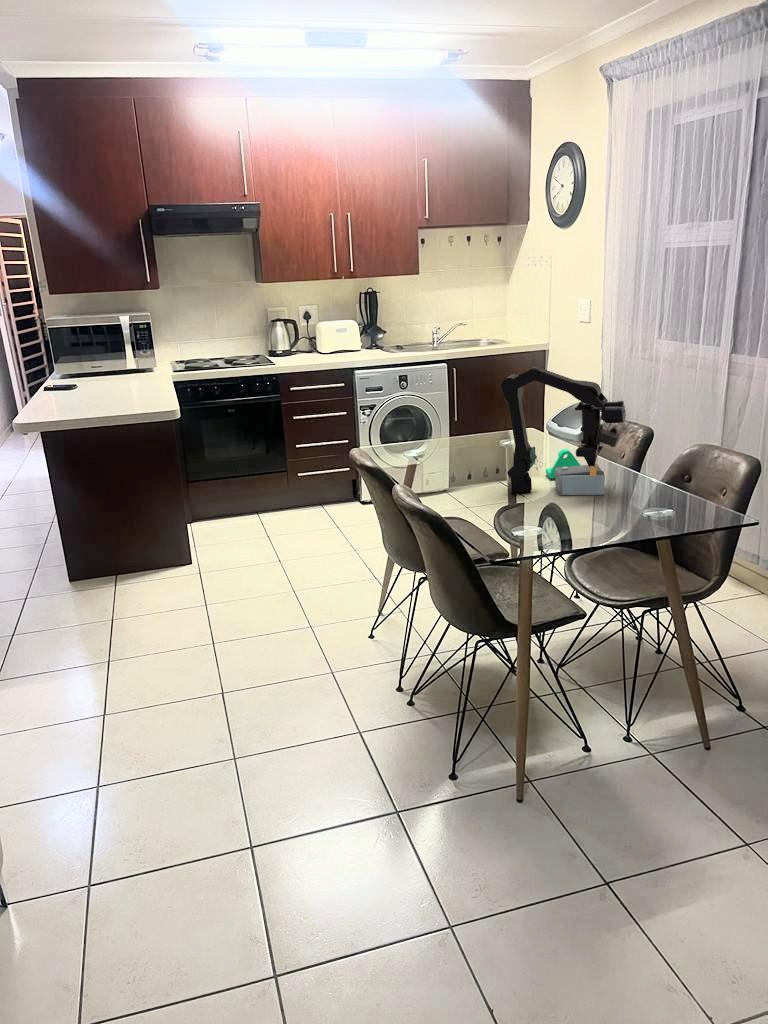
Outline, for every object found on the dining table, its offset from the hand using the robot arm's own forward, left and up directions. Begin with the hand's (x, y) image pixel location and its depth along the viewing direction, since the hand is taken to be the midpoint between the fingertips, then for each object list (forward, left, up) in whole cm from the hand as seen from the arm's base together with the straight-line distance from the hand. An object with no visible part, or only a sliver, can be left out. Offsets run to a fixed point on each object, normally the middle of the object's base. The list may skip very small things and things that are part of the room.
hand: (592, 469), depth 243 cm
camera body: (-4, +6, -8) cm, 11 cm away
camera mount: (-6, +22, -9) cm, 24 cm away
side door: (-4, -1, -8) cm, 9 cm away
